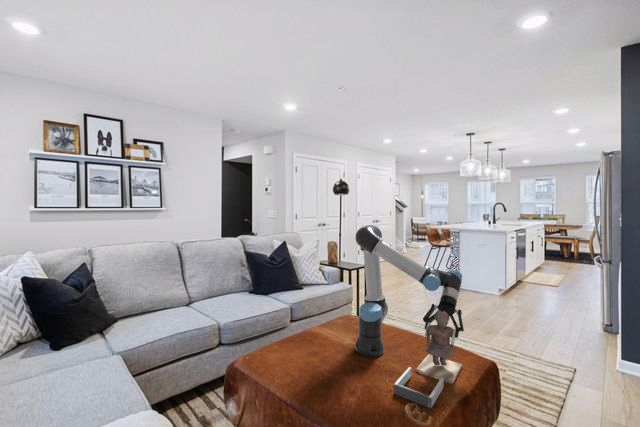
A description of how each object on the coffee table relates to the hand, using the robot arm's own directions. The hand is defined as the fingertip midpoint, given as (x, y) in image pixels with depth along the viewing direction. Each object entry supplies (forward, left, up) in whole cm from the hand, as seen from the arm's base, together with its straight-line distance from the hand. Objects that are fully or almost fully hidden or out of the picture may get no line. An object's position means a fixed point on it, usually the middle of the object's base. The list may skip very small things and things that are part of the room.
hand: (438, 339), depth 147 cm
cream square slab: (0, +3, -15) cm, 15 cm away
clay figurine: (0, +3, -13) cm, 13 cm away
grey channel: (-2, -19, -15) cm, 25 cm away
